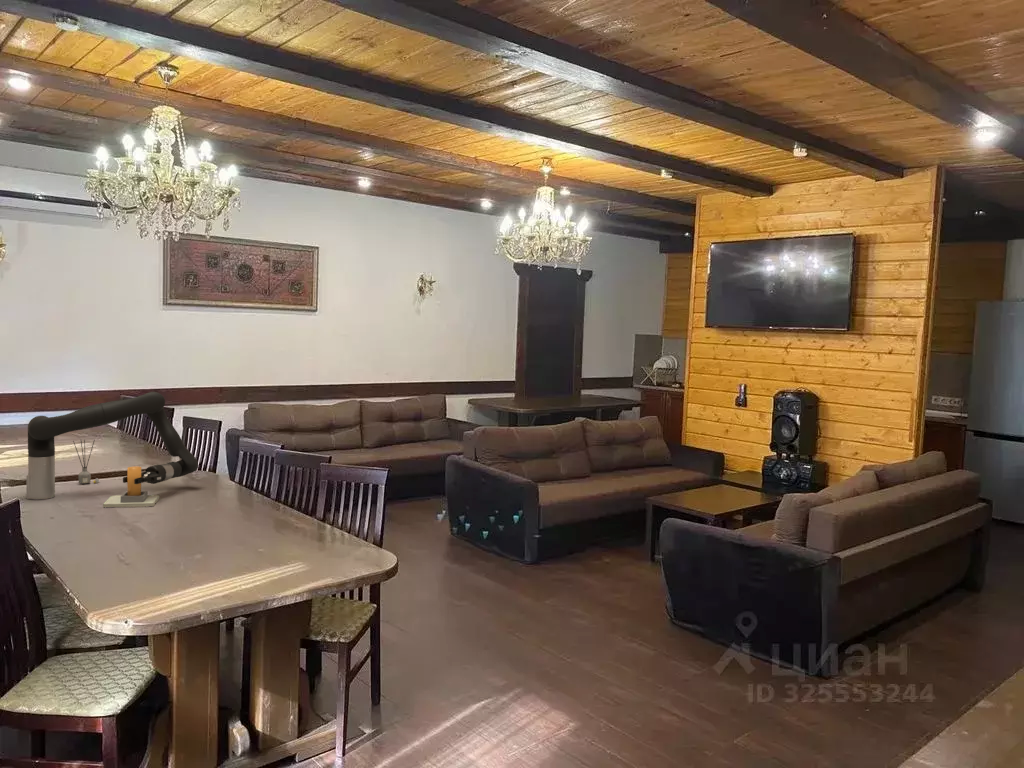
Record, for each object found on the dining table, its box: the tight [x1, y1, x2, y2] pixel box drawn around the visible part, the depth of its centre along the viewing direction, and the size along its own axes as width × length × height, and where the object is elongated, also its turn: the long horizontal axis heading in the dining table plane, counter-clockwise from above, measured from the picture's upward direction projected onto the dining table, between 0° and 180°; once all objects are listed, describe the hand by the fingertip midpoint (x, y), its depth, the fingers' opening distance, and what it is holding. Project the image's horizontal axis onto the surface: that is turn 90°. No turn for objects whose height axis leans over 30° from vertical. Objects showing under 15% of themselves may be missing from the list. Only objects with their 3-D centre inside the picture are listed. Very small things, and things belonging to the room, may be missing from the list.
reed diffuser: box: [72, 439, 100, 484], centre depth 334 cm, size 10×7×20 cm
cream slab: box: [102, 490, 160, 509], centre depth 304 cm, size 18×14×4 cm
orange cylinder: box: [126, 465, 142, 496], centre depth 303 cm, size 5×5×12 cm
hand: (129, 480), depth 300 cm, fingers closed on orange cylinder, 5 cm apart
